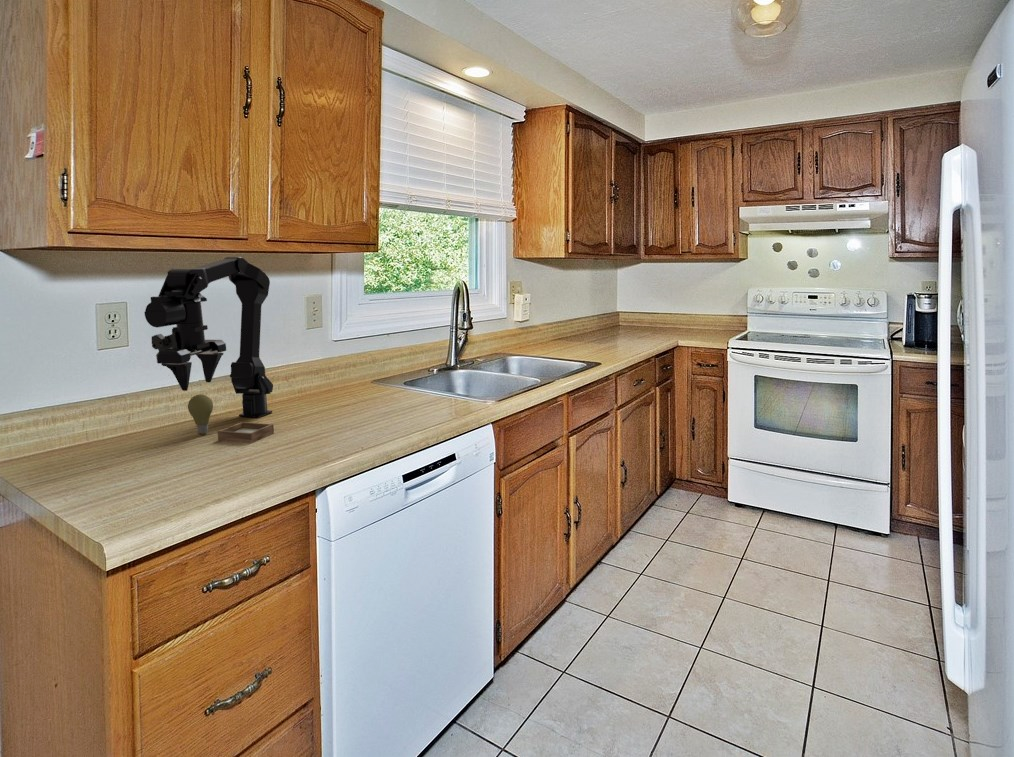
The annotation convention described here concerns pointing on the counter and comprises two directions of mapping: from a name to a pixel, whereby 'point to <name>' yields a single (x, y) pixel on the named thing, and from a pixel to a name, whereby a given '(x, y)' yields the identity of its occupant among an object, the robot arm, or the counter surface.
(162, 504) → the counter surface
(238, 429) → the tray
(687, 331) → the counter surface
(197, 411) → the light bulb
